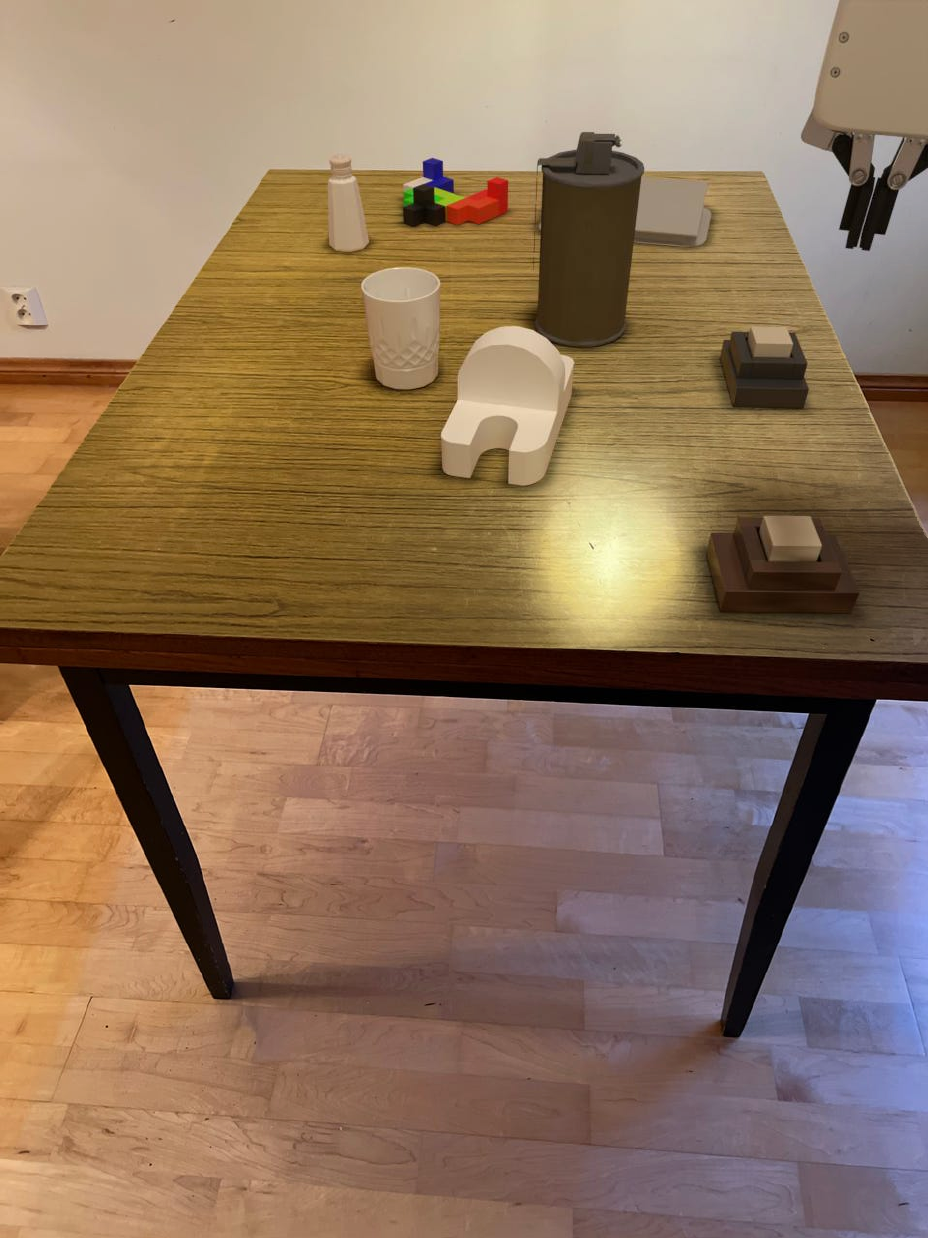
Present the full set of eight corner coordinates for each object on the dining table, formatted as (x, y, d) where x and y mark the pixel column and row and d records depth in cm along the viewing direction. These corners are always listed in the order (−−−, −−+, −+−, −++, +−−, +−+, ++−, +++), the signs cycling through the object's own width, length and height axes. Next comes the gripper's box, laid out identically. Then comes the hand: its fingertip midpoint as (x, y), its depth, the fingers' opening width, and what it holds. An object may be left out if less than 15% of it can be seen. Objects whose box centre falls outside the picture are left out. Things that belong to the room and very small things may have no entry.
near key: (804, 533, 69) (810, 515, 68) (816, 563, 66) (822, 545, 65) (758, 532, 69) (763, 515, 68) (768, 563, 67) (773, 545, 65)
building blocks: (372, 212, 128) (369, 180, 125) (433, 187, 135) (432, 157, 131) (447, 238, 121) (446, 205, 118) (508, 211, 127) (508, 179, 124)
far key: (789, 359, 88) (793, 343, 87) (752, 359, 89) (756, 342, 87) (782, 342, 91) (786, 326, 90) (747, 341, 91) (750, 325, 90)
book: (556, 194, 132) (557, 165, 129) (712, 206, 127) (718, 178, 124) (534, 233, 121) (535, 203, 119) (704, 248, 117) (709, 218, 114)
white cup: (447, 357, 97) (444, 267, 90) (438, 394, 92) (435, 302, 84) (376, 355, 98) (368, 265, 91) (364, 392, 92) (354, 299, 85)
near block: (828, 554, 73) (841, 515, 70) (851, 613, 68) (867, 574, 65) (706, 552, 73) (714, 514, 70) (720, 611, 68) (730, 573, 65)
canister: (624, 306, 105) (645, 121, 91) (627, 349, 98) (650, 154, 84) (533, 304, 106) (540, 120, 92) (529, 346, 99) (536, 152, 85)
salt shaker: (329, 253, 118) (318, 165, 110) (328, 237, 121) (318, 151, 114) (370, 251, 118) (362, 162, 110) (368, 235, 122) (360, 148, 114)
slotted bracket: (540, 488, 80) (546, 391, 73) (438, 473, 82) (434, 378, 75) (573, 387, 92) (581, 296, 85) (484, 377, 94) (484, 287, 87)
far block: (803, 408, 89) (814, 372, 86) (733, 406, 89) (741, 370, 86) (785, 359, 96) (794, 324, 93) (719, 357, 96) (726, 323, 93)
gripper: (1103, -104, 48) (974, 235, 61) (821, -109, 53) (755, 210, 65) (1122, -87, 44) (977, 278, 56) (808, -93, 48) (740, 249, 60)
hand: (858, 241), depth 61 cm, fingers closed
